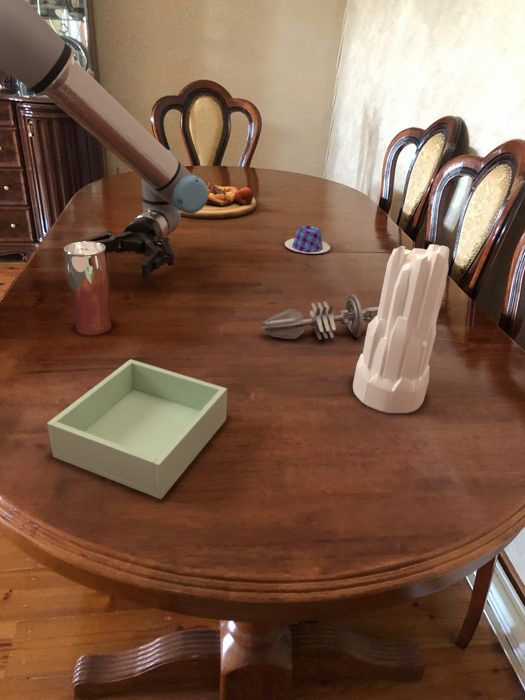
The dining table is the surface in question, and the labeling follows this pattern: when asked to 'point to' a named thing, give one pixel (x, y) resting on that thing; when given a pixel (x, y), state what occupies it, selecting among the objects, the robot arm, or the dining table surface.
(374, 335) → the decorative vase
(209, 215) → the wooden plate
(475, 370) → the dining table surface
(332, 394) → the dining table surface
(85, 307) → the beer glass
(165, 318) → the dining table surface
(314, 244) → the pudding
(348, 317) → the spaceship
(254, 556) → the dining table surface
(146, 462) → the tub
